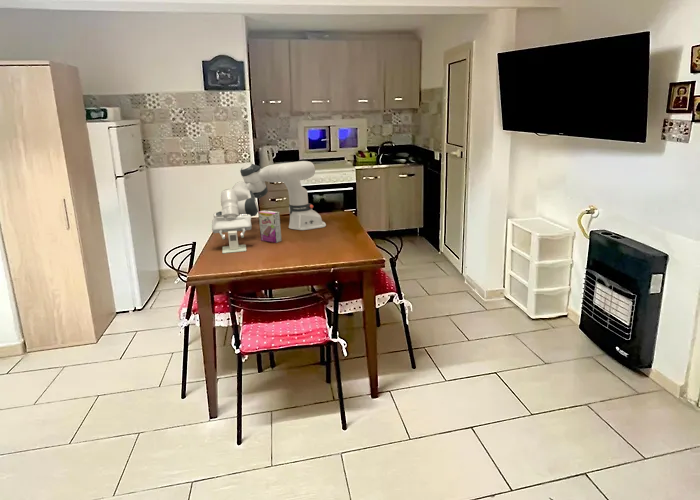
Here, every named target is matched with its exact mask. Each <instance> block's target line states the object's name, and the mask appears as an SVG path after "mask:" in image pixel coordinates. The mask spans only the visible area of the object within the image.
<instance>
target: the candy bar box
mask: <svg viewBox="0 0 700 500" xmlns="http://www.w3.org/2000/svg"><path fill="white" fill-rule="evenodd" d="M257 214H258V221H259V222H258V223H259V233H260V241H261V242H267V243H275V244H277V243H279V242H282V239H283V238H282V229H281V217H280V216H281V215H280V211H272V210H261V211H258V213H257Z"/></svg>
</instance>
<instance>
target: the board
mask: <svg viewBox="0 0 700 500" xmlns="http://www.w3.org/2000/svg"><path fill="white" fill-rule="evenodd" d="M238 246H239V249H236V250H230V247H229V245H227V246H222V254H232V253H241V252H247V245H246V244H238Z"/></svg>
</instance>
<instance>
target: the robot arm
mask: <svg viewBox="0 0 700 500" xmlns="http://www.w3.org/2000/svg"><path fill="white" fill-rule="evenodd" d="M315 167H316V166H315V165H314V163H313V162H312V161H308V160H298V161H292V162H291V161H290V162H283V163H282V162H281V163H275V164H269V165H267V166H264V167H262V168H261V166H260V165H257V164H254V163H247V164H245V165H243V167H241V168H240V170H239V171H240V175H241V177H242V180H243V181H238V182H236V183H235V184H234V185H233V186H232V187H231V188H227V189H224V190H222V191H221V193H220V206H221V210H219V211H217V212H214V213H213V219H212V222H211V232H212V233H213V234H219V235H220V237H221V239H222V240H226V236H225V235H226V234H223V233H228V231H235V230H237V232H241V233H240V238H241V239H242V238H244V237H245V233H246V231H251V230H252V229H253V228H252V226H253V225H252V221H251V220H252V217H255V216H256V215H257V214H258V212H259V205H258V203H257V200H256V199H261V198H263V197H264V196H266V195H267V194H268V192H269V190H268V186H267V185H266V182H268V183H283V184H284V185H285V187H286V189H287V192H288V199H289V204H288V212H289V224H288V228H289V229H291V230H298V231H306V230H307V231H308V230H315V229H320V228H325V227H326V226H327V224H326V222H325V221H324V220H323V219H322V216H321V215H320V213H318V212H317V211H316V210H313V208H314V205H313V204H312V203H309V196H308V189H306V188H305V187H304V186H303V185H302V183H301V181H305V180H308V179H310V178H312V177H314V175H315V174H316V168H315Z"/></svg>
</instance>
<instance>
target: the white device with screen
mask: <svg viewBox="0 0 700 500" xmlns="http://www.w3.org/2000/svg"><path fill="white" fill-rule="evenodd" d="M227 236H228V244H229V245H228V246H229V247H230V250H236V249H239V246H238V245H239V240H238V239H239V238H238V231H237V230H235V231H228V232H227Z"/></svg>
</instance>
